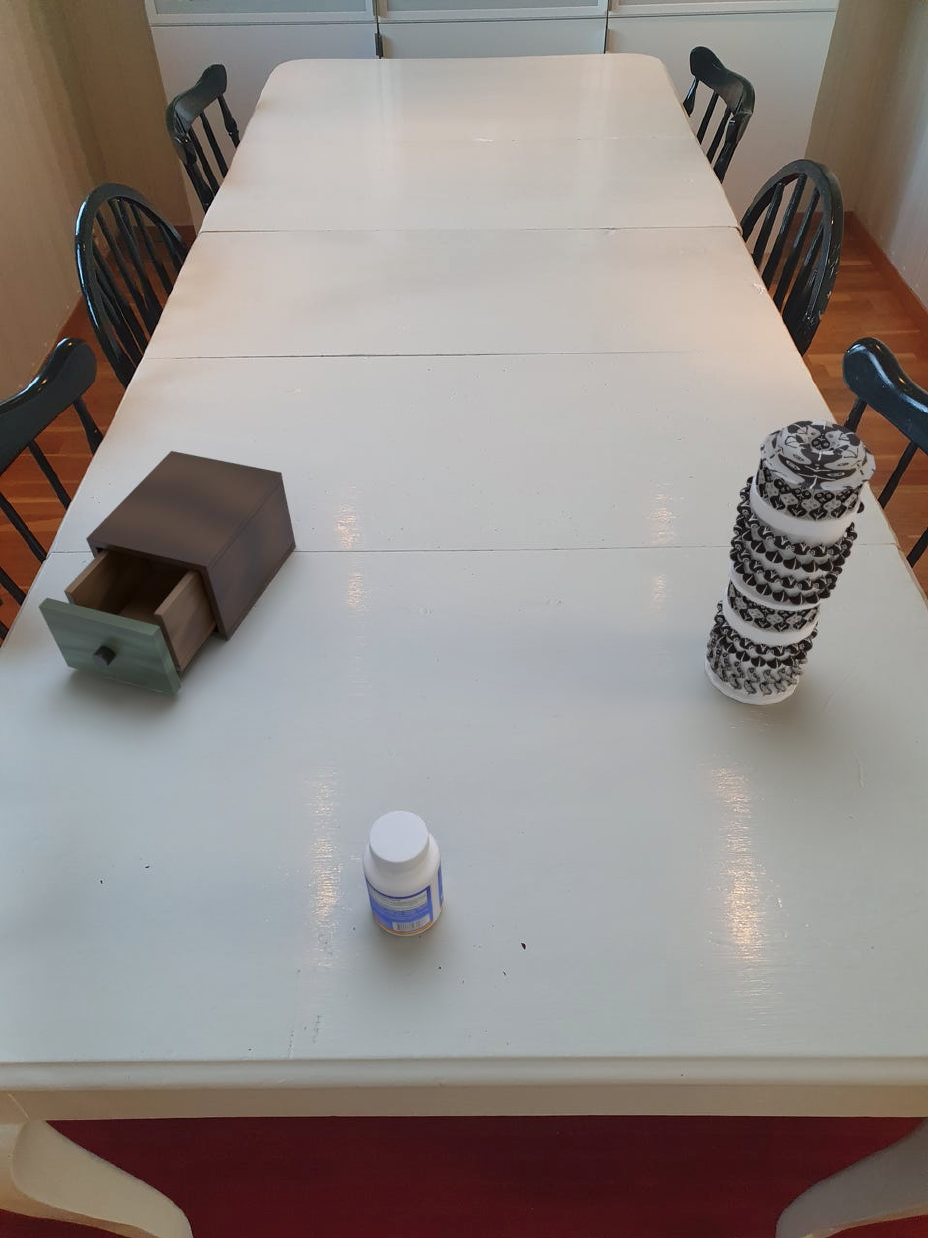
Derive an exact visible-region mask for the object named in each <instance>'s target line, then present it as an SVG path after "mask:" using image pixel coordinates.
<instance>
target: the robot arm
mask: <svg viewBox="0 0 928 1238" xmlns="http://www.w3.org/2000/svg"><path fill="white" fill-rule="evenodd" d="M3 605H4V601H3V599H2V598H1V597H0V608H1V607H2V606H3Z"/></svg>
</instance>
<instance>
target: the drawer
mask: <svg viewBox="0 0 928 1238" xmlns="http://www.w3.org/2000/svg"><path fill="white" fill-rule="evenodd" d="M63 593H64V595H65V597H66V599H67V601H68V602H66V601H61V600H58V599H55V598H49V597H46V598H45V599H44V600H43V601H42V602H41V603H40V604H39V605H38V609H39V611H40V613H41V615H42V618H43V619H44V621H45V623H46V625H47V627H48V629H49V632H50V633H51V635H52V637H53V639H54V641H55V643H56V645H57V647H58V649H59V651H60V653H61V655H62V657H63V660H64V661H65V664H66V666H67V667H69V668H72V669H75V670H80V671H83V672H87V673H90V674H94V675H98V676H101V677H105V678H109V679H113V680H115V681H120V682H123V683H127V684H130V685H135V686H138V687H141V688H144V689H149V690H153V691H156V692H160V693H164V694H167V695H171V696H176V695H177V694H178V692H179V691H180V690H181V688H182V687H183V686H182V683H181V679H180V677H179V675H178V672H183V671H184V670H185V669H186V667H187V666H188V664H189V663H190V662H191V660H192V659H193V657H194V656H195V655H196V654H197V652H198V651H199V650H200V648H201V647H202V646H203V644H204V643H205V641H206V640H207V639H208V637H209V635H210V633H211V632H212V630H213V629H214V628H215V626H216V625H217V623H216V619H215V616H214V613H213V610H212V606H211V603H210V600H209V597H208V593H207V590H206V587H205V583H204V580H203V577H202V574H201V571H199V570H194V569H190V568H186V567H181V566H177V565H173V564H168V563H164V562H160V561H155V560H151V559H147V558H143V557H138V556H134V555H130V554H125V553H121V552H117V551H112V550H108V549H103V550H102V551H101V552H100V553H99V554H98V555H97V556H96V557H95V558H94V557H93V559H92V560H91V562H89V563H88V565H87V566H85V568H84V569H83V570H82V571H81V572H80V573H79V574H78V575H77V577H75V578H74V579H73V580H72V582H70V584H69V585H68V586H66V588H65V589H64V590H63ZM177 671H178V672H177Z"/></svg>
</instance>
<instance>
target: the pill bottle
mask: <svg viewBox="0 0 928 1238" xmlns="http://www.w3.org/2000/svg"><path fill="white" fill-rule="evenodd" d="M440 851H441V850H440V847H439V845H438V842H437V840H436V838H435V837H434V836H433V834H432V833H431V832H430V831H428V827H427V825H426V823H425V822H424V820H423V819H422V818H421V817H420V816H418V815H417V814H415V813H413V812H410V811H407V810H393V811H389V812H387V813H385V814H383V815H381V816H380V817H379V818H377V819H376V820H375V821H374V823H373V824H372V826H371V828H370V830H369V834H368V840H367V841H366V844H365V846H364V848H363V853H362V860H361V861H362V868H363V874H364V875H363V876H364V879H365V884H366V889H367V894H368V899H369V905H370V909H371V913H372V915H373V917H374V920H375V921H376V923H377V924H378V925H379V927H381V928H382V929H383V930H384V931H386V932H388V933H389V934H392V935H394V936H398V937H411V936H416V935H418V934H421V933H423V932H425V931H427V930H428V929H429V928H431V927H432V926H433V925H434V924H435V923H436V921H437V920H438V919H439V917H440V915H441V913H442V910H443V906H444V889H443V888H444V887H443V875H442V862H441V861H442V859H441V853H440Z"/></svg>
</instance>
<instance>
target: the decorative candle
mask: <svg viewBox="0 0 928 1238" xmlns="http://www.w3.org/2000/svg"><path fill="white" fill-rule="evenodd" d="M759 449H760V459H759V462H758V467H757V472H756V473H755V474H754V475H752V476H751V475H750V476H749V477H748V478H747V479H746V482H745V483H746V484H745V485H746V486H745V487H743V488H741V490H740V491H739V497H740V499H741V500H742V501H740V502H739V503H738V504H737V506H736V511H737V513H738V514H737V516H736V518H735V525H734V526H733V528H732V531H733V533H734V535H735V536H733V537H732V538H731V540H730V545H731V547H732V548H731V549H730V551H729V555H728V556H729V559H728V563H727V565H728V567H727V568H728V569H727V570H728V578H729V581H728V584H727V585H726V587H725V588H724V592H723V597H722V600H720V601H718V603H717V605H716V609H717V610H718V611H717V612H716V614H715V615H714V617H713V621H714V622H715V624H713V626H712V627H711V629H710V630H709V637H710V638H709V639H708V642H707V644H706V648H707V650H706V654H705V656H704V672H705V674H706V675H707V677H708V679H709V681H710V683H711V684H712V686H714V687H715V688H716V689H717V690H719V691H720V692H721V693H722V694H723V695H724V696H726V697H729V698H731V699H733V700H735V701H738V702H740V703H743V704H748V705H749V704H750V705H757V706H765V705H771V704H777V703H780V702H782V701H784V700H786V698H788V697H790V696H792V695H793V694H794V691H795V689H796V688H797V686H798V684H799V682H800V676H803V674H804V670H803V669H802V668H801V667H800V665H806V664H808V661H809V659H808V658H807V656H808V653H809V652H810V651H811V650H812V648H813V645H814V642H812V641H813V639H815V638H817V636H818V633H819V632H818V629H817V626H818V624H819V618H820V615H821V606H822V605H821V604H822V603H823V602H826V601H827V600H828V598H830V597H831V596H832V591H833V590H835V588H836V587H837V582H838V578H839V576H840V575H841V574H842V573H843V567H842V566H844V565H845V564H846V561H847V560H846V559H847V558H848V557H850V556H851V555H852V550H851V549H852V547H853V545H854V541H855V540H857V538H858V533H857V531H856V530H855V528H856V527H855V526H856V525H855V522H854V519H855V517H856V515H857V514H861V513H863V512H864V511H865V508H866V507H865V504H864V502H863V501H862V500H861V493H862V491H863V489H864V487H865V483H867V482H868V481H870V480H871V478H872V476H873V474H874V473H875V471H876V469H877V468H876V462H875V457H874V455H873V453H872V452H871V451H870V450H869V449H868V448H867V447H866V446H865V445H864V443H863V441H862V440H861V439H860V438H859V436H857V435H856V433H855V432H853V430H850V429H849V428H847V427H845V426H843V425H841V424H838V423H835V422H832V421H829V420H821V419H807V420H800V421H796V422H793V423H791V424H789V425H787V426H785V427H782V428H780V429H779V430H776V431H774V432H772V433H770V434H768V435H766V437H765V438H764V440H763V441H762V442H761V444H760V446H759ZM845 534H846V536H845Z"/></svg>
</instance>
